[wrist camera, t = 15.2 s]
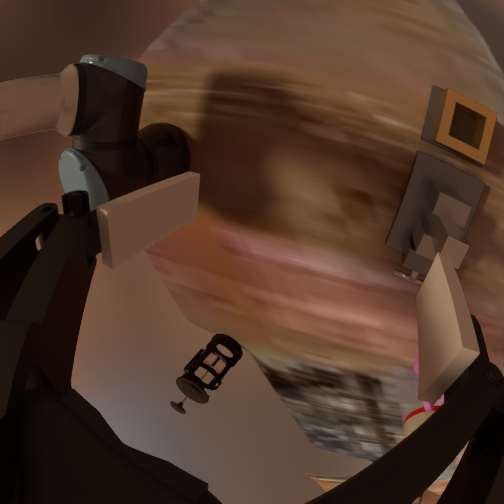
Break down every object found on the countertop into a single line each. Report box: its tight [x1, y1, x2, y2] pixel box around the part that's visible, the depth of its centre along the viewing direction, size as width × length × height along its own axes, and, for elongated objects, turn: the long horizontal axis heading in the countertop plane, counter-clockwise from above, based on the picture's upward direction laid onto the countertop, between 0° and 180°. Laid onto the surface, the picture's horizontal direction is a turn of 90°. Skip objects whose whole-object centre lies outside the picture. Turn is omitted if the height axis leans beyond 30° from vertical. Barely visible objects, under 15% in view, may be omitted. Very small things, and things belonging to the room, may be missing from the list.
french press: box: [170, 334, 243, 414], centre depth 65 cm, size 12×9×23 cm
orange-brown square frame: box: [431, 88, 497, 164], centre depth 28 cm, size 8×8×5 cm
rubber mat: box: [421, 85, 482, 167], centre depth 31 cm, size 11×9×1 cm
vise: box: [385, 150, 485, 286], centre depth 33 cm, size 12×19×16 cm, turn 170°
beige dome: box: [404, 406, 440, 439], centre depth 48 cm, size 14×14×15 cm
